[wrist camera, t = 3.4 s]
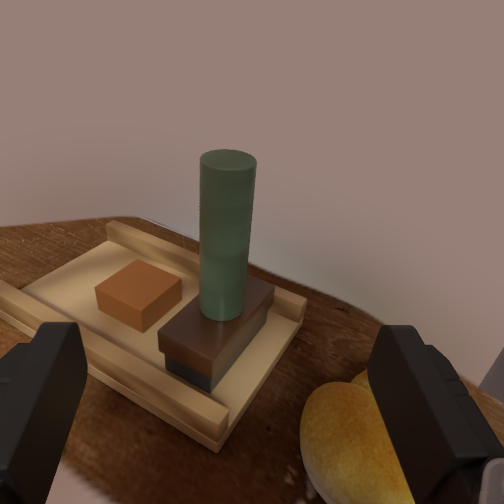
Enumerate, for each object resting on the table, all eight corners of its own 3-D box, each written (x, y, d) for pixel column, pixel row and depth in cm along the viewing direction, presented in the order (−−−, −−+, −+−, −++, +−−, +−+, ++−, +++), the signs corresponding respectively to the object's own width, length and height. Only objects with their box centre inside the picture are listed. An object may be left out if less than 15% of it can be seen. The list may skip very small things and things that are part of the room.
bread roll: (271, 418, 21) (280, 371, 19) (396, 373, 25) (416, 329, 23) (361, 597, 15) (388, 558, 13) (512, 506, 19) (554, 462, 16)
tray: (302, 325, 28) (307, 298, 26) (217, 455, 19) (218, 425, 18) (117, 244, 34) (113, 219, 33) (-4, 315, 26) (-16, 286, 25)
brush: (270, 321, 26) (296, 147, 20) (211, 399, 21) (217, 196, 14) (226, 301, 28) (235, 132, 21) (159, 370, 22) (143, 172, 16)
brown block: (182, 299, 27) (181, 277, 26) (143, 334, 24) (140, 310, 23) (140, 279, 29) (137, 258, 28) (98, 309, 26) (93, 287, 25)
